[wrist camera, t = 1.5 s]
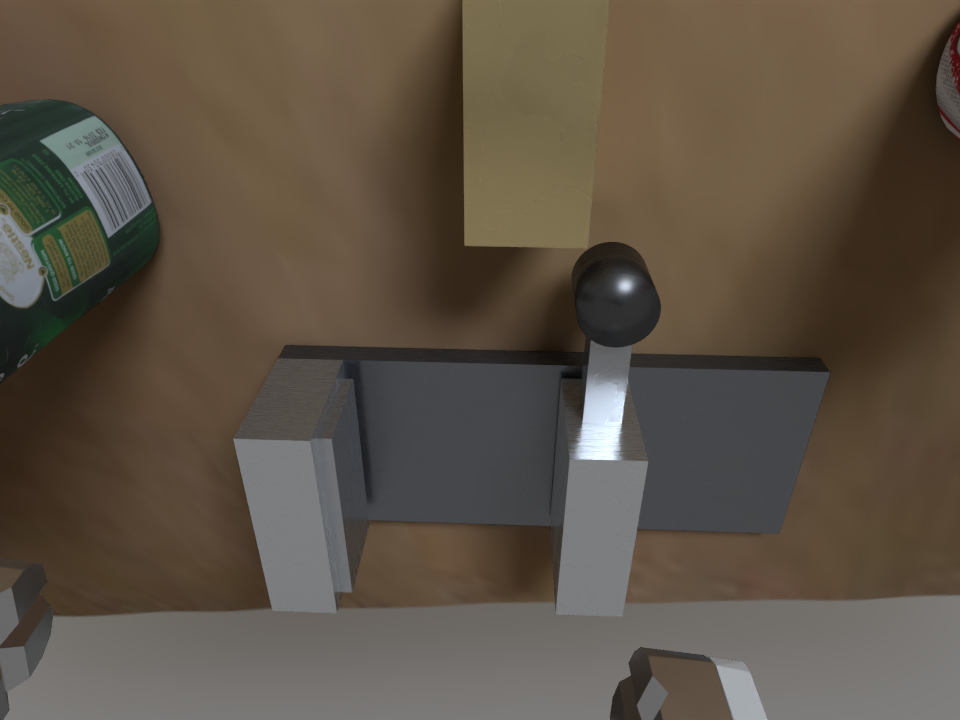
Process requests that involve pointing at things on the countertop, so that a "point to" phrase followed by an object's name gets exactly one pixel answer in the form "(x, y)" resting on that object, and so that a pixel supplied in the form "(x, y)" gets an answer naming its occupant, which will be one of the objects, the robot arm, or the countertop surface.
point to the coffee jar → (64, 222)
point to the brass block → (531, 119)
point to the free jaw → (601, 436)
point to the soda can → (950, 84)
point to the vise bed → (498, 448)
